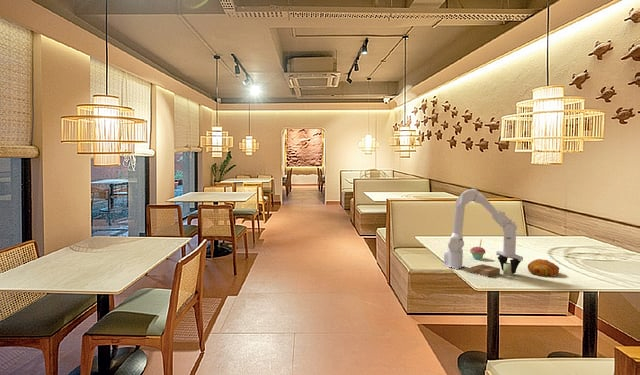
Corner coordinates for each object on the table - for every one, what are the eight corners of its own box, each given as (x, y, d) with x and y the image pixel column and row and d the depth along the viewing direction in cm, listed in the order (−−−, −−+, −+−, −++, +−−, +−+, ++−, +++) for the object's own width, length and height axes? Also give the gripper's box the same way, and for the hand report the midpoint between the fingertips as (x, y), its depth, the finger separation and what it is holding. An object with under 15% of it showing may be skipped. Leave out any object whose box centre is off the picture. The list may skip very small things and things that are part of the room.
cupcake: (481, 257, 252) (482, 237, 251) (487, 260, 244) (488, 240, 243) (467, 257, 252) (468, 237, 251) (473, 260, 243) (473, 240, 242)
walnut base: (471, 272, 218) (471, 267, 218) (482, 269, 224) (482, 264, 223) (488, 277, 210) (488, 271, 210) (499, 273, 216) (500, 268, 215)
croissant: (523, 277, 217) (522, 262, 216) (534, 267, 228) (533, 253, 227) (554, 282, 207) (553, 267, 206) (563, 272, 218) (563, 257, 216)
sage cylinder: (501, 274, 215) (501, 263, 215) (506, 272, 218) (507, 262, 218) (510, 276, 211) (510, 265, 211) (515, 274, 214) (516, 264, 214)
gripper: (492, 243, 218) (491, 269, 219) (516, 249, 205) (515, 276, 206) (501, 242, 222) (501, 267, 223) (526, 247, 209) (525, 274, 210)
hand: (508, 271), depth 215 cm, fingers open, 5 cm apart
